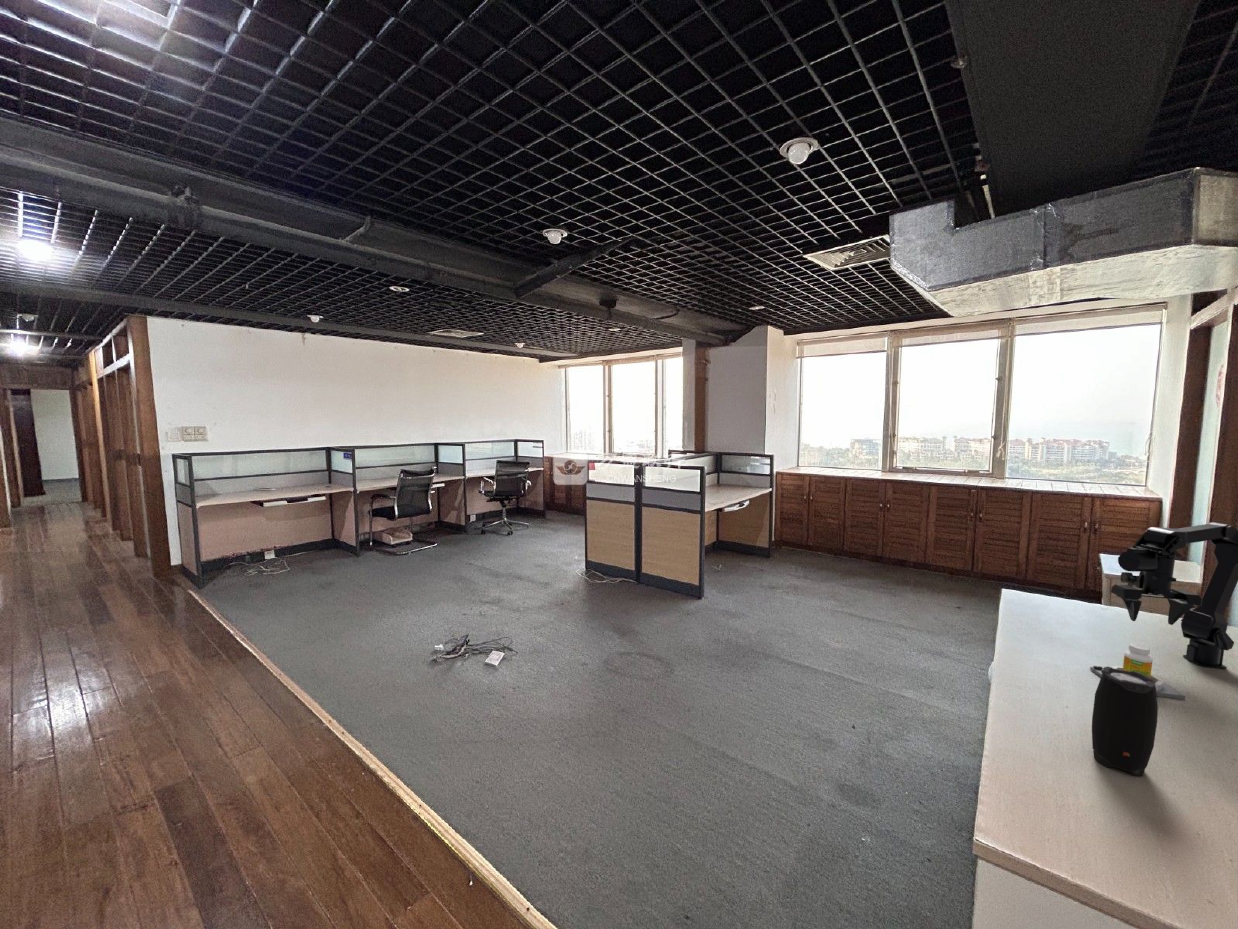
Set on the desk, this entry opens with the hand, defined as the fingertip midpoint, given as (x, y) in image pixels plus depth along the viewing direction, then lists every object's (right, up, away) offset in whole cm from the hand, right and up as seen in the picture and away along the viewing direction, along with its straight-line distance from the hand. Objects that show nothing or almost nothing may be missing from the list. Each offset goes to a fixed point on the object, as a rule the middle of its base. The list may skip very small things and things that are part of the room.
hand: (1151, 622), depth 148 cm
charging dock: (-15, -14, -10) cm, 23 cm away
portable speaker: (-53, -17, -43) cm, 70 cm away
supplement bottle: (-15, -13, -10) cm, 22 cm away
